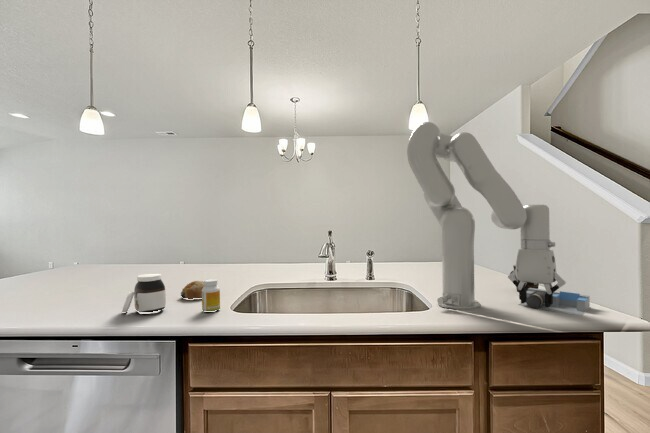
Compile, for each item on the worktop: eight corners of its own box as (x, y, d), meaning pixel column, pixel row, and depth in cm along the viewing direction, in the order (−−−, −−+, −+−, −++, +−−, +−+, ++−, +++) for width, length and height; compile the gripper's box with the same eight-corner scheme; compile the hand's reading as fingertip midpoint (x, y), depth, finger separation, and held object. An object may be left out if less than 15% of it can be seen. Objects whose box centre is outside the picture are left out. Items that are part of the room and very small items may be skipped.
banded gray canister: (540, 308, 102) (538, 296, 102) (526, 307, 104) (525, 295, 105) (548, 303, 107) (546, 292, 107) (535, 302, 110) (533, 291, 110)
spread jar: (169, 312, 108) (168, 275, 108) (130, 320, 99) (129, 280, 99) (154, 305, 116) (153, 271, 116) (116, 313, 108) (115, 276, 107)
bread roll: (200, 311, 121) (209, 290, 121) (173, 299, 121) (183, 278, 121) (210, 303, 131) (218, 284, 131) (185, 292, 131) (194, 273, 131)
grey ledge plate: (582, 317, 95) (581, 300, 95) (517, 306, 107) (517, 291, 107) (591, 309, 103) (590, 293, 103) (530, 299, 115) (530, 285, 115)
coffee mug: (533, 290, 128) (533, 264, 128) (546, 296, 120) (545, 267, 119) (501, 290, 129) (500, 264, 129) (511, 296, 121) (510, 267, 121)
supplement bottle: (223, 309, 110) (223, 279, 109) (211, 314, 105) (211, 282, 105) (210, 307, 112) (210, 278, 112) (198, 312, 107) (197, 281, 107)
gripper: (572, 245, 101) (572, 307, 101) (509, 242, 113) (509, 297, 113) (565, 248, 95) (566, 312, 96) (500, 244, 108) (501, 301, 108)
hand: (535, 303), depth 104 cm, fingers open, 5 cm apart
